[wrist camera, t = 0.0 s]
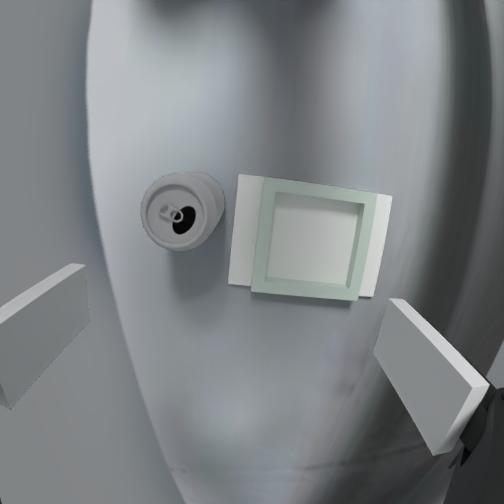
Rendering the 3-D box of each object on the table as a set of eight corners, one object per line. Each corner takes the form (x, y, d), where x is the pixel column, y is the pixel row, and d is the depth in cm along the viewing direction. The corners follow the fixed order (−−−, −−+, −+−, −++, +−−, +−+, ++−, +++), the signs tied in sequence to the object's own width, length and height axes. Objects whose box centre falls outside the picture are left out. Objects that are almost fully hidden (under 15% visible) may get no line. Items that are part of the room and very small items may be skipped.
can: (204, 242, 41) (186, 271, 29) (156, 210, 40) (120, 226, 28) (237, 193, 39) (231, 203, 28) (187, 160, 38) (161, 157, 26)
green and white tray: (239, 173, 39) (238, 174, 36) (390, 195, 39) (398, 197, 37) (228, 282, 42) (226, 288, 40) (371, 295, 43) (377, 302, 40)
